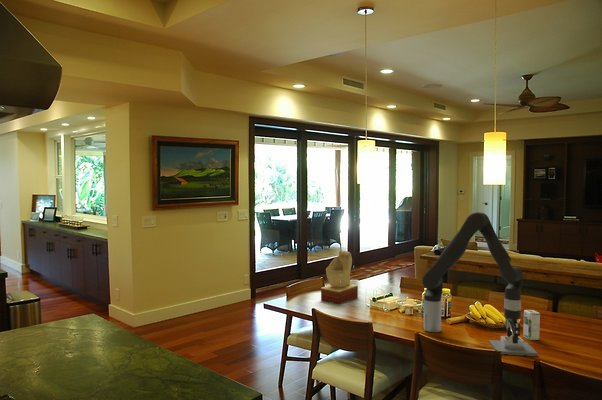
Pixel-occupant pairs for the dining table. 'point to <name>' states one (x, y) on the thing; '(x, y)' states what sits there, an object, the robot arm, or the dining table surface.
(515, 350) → the board
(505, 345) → the steel link
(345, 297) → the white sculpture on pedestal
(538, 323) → the syrup box
